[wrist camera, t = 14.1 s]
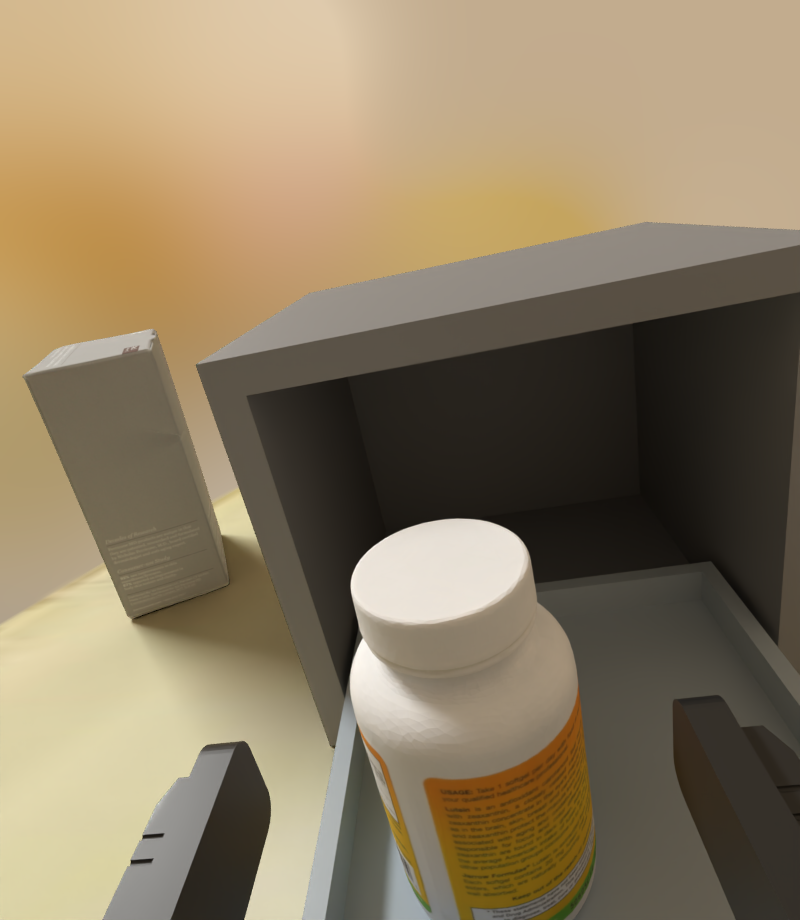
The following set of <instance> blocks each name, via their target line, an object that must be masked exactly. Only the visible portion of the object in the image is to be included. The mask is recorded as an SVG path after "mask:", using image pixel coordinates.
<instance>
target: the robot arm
mask: <svg viewBox="0 0 800 920" xmlns="http://www.w3.org/2000/svg"><path fill="white" fill-rule="evenodd" d="M672 708H673V757H674V765H675V770H676V775H677V779H678V782H679V786H680V789H681V792H682V794H683V797H684V799H685V802H686V804H687V806H688V809H689V811H690V814H691V816H692V818H693V821H694V823H695V825H696V828H697V830H698V832H699V835H700V837H701V839H702V842H703V844H704V846H705V849H706V851H707V854H708V856H709V858H710V861H711V863H712V865H713V868H714V870H715V872H716V875H717V877H718V879H719V882H720V884H721V886H722V889H723V891H724V893H725V896H726V898H727V901H728V903H729V905H730V908H731V910H732V912H733V915H734V917H735V919H736V920H800V759H799V758H798V756H797V755H796V753H795V752H794V751H793V750H792V749H791V748H790V747H789V746H787V745H786V744H785V743H784V742H782V741H781V740H780V739H779V738H778V737H776V736H775V735H774V734H773V733H772V732H770V731H769V730H768V729H767V728H766V727H764V726H763V725H760V726H749V727H740V725H739V723H738V722H737V720H736V718H735V717H734V715H733V713H732V712H731V710H730V708H729V706H728V705H727V703H726V702H725V700H724V699H723V698H722V697H721V696H719V695H711V696H701V697H691V698H681V699H674V701H673V707H672ZM270 817H271V803H270V796H269V792H268V789H267V787H266V785H265V782H264V780H263V778H262V775H261V773H260V771H259V768H258V766H257V764H256V761H255V759H254V757H253V754H252V752H251V750H250V747H249V746H248V744H247V743H246V742H244V741H240V742H230V743H220V744H210V745H206V746H205V747H204V748H203V749H202V750H201V752H200V754H199V756H198V758H197V760H196V762H195V765H194V767H193V769H192V772H191V774H190V776H189V777H184V778H178V779H177V780H176V782H175V783H174V784H173V785H172V787H171V788H170V789H169V790H168V791H167V793H166V794H165V795H164V796H163V797H162V799H161V800H160V801H159V802H158V804H157V805H156V807H155V809H154V811H153V813H152V815H151V817H150V820H149V822H148V824H147V826H146V828H145V830H144V832H143V838H142V841H139V843H138V845H137V847H136V849H135V852H134V854H133V856H132V858H131V864H130V866H128V867H127V869H126V871H125V873H124V875H123V877H122V879H121V881H120V883H119V886H118V888H117V890H116V892H115V894H114V896H113V898H112V900H111V903H110V905H109V907H108V909H107V911H106V913H105V915H104V917H103V920H244V918H245V915H246V911H247V907H248V903H249V900H250V896H251V892H252V889H253V885H254V881H255V878H256V874H257V870H258V866H259V863H260V859H261V855H262V852H263V848H264V844H265V840H266V837H267V833H268V829H269V824H270Z"/></svg>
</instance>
